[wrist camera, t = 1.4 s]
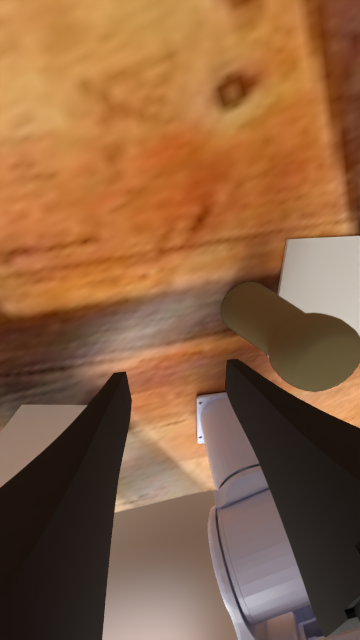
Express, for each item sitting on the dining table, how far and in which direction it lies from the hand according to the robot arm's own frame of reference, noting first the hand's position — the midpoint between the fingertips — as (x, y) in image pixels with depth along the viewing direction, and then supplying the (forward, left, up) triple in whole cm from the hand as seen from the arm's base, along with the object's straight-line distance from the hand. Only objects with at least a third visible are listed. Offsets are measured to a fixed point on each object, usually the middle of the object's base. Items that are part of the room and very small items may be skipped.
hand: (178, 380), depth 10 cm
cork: (0, -9, -11) cm, 14 cm away
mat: (0, -19, -10) cm, 22 cm away
